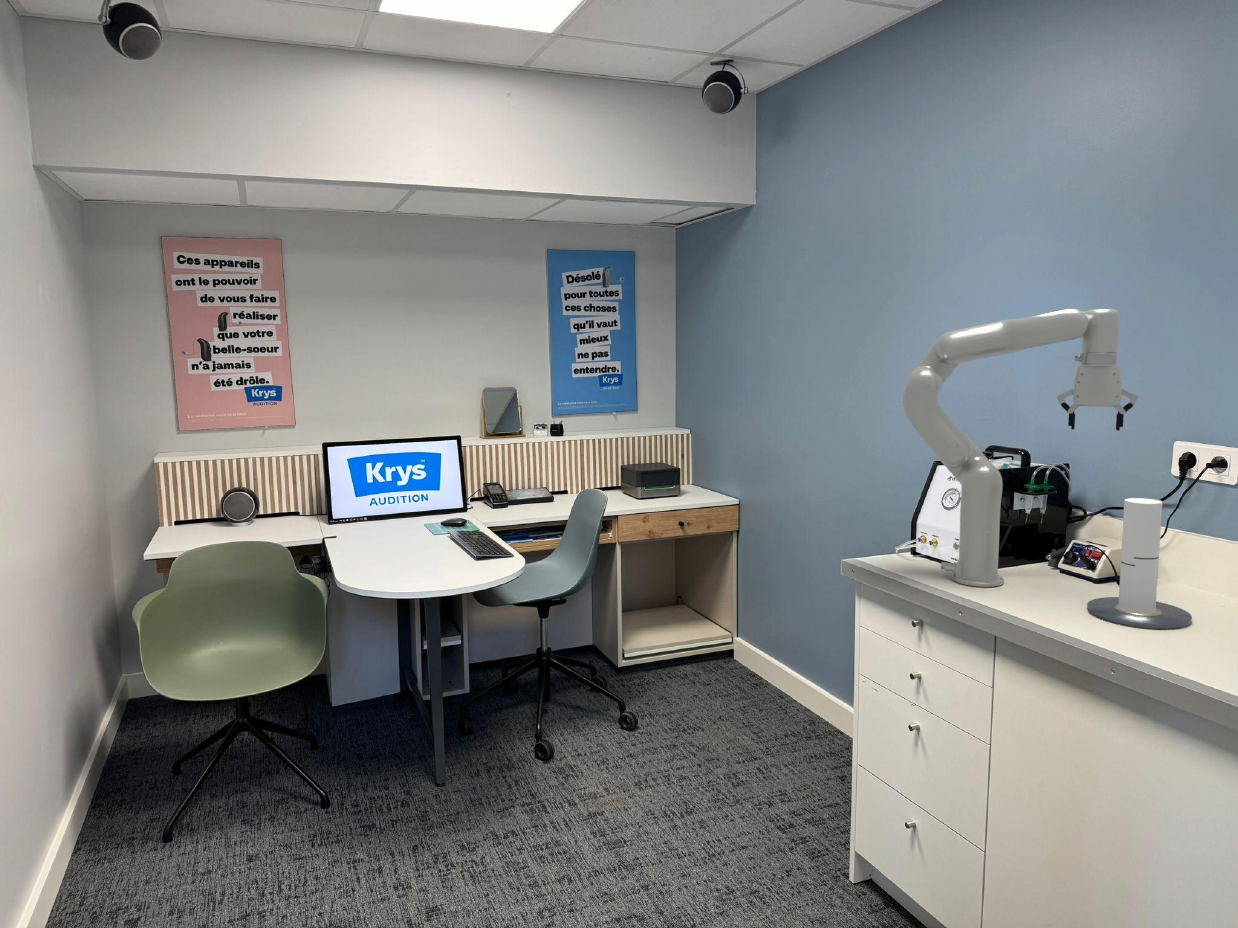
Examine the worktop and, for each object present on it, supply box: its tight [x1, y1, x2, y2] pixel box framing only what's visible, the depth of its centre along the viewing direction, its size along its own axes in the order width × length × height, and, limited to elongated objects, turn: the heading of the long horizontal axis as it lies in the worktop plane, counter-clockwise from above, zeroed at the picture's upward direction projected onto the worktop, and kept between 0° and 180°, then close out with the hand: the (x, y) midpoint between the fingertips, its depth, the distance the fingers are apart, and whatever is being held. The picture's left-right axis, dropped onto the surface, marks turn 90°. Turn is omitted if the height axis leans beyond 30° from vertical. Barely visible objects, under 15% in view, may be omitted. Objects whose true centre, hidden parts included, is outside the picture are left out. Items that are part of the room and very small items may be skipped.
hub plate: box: [1086, 596, 1193, 631], centre depth 185 cm, size 20×20×1 cm
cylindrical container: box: [1118, 497, 1163, 614], centre depth 183 cm, size 7×7×25 cm
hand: (1095, 429), depth 202 cm, fingers open, 9 cm apart
